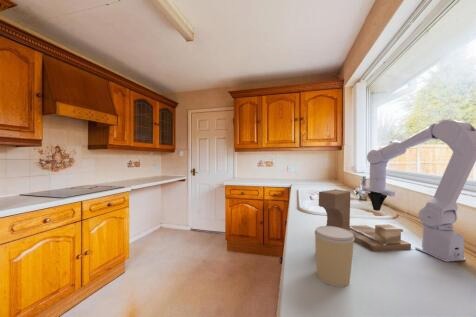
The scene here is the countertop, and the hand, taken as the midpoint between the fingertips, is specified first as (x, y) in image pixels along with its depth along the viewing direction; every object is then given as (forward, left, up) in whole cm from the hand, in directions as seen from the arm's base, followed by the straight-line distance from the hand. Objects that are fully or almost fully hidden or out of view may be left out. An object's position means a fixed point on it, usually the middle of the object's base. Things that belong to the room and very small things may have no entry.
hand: (376, 210), depth 88 cm
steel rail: (-6, +12, -8) cm, 15 cm away
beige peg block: (-13, +7, -7) cm, 16 cm away
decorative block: (-14, +30, -10) cm, 34 cm away
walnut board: (-6, +9, -9) cm, 14 cm away
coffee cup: (-28, +40, -10) cm, 50 cm away
